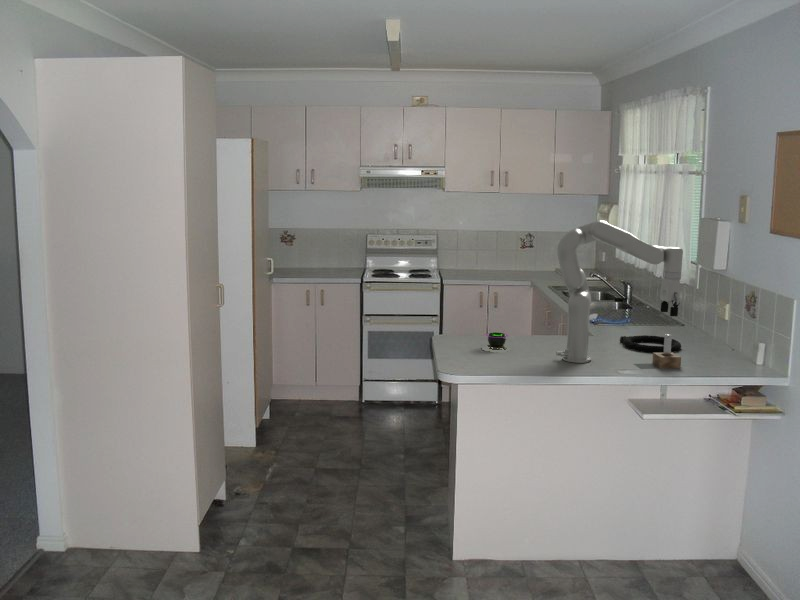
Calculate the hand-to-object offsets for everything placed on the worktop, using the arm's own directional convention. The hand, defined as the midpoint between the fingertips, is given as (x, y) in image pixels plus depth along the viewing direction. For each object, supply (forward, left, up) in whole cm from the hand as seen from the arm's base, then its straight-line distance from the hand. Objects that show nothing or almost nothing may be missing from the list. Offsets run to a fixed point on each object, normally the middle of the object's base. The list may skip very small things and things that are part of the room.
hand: (668, 314), depth 345 cm
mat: (-4, 0, -24) cm, 24 cm away
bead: (0, 0, -23) cm, 23 cm away
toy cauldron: (-68, +39, -24) cm, 82 cm away
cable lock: (+9, +40, -25) cm, 48 cm away
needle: (0, 0, -23) cm, 23 cm away
